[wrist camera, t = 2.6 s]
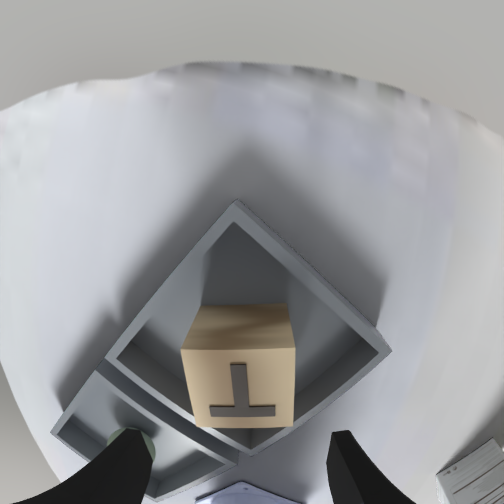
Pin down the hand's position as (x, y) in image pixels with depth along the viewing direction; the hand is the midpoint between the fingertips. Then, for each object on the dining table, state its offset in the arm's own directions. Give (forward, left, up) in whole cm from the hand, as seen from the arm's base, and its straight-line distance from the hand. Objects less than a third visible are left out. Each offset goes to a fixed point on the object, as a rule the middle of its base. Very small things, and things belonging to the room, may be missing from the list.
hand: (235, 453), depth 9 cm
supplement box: (-36, -1, -10) cm, 38 cm away
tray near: (0, 0, -9) cm, 9 cm away
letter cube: (0, 0, -9) cm, 9 cm away
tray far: (0, +14, -9) cm, 16 cm away
